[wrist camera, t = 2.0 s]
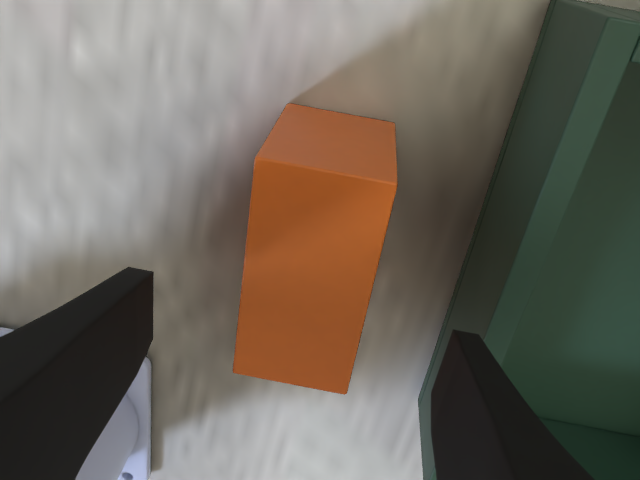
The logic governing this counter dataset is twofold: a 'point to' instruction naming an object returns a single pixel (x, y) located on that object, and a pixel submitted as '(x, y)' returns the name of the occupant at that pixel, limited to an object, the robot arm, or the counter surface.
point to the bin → (564, 244)
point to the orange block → (313, 245)
